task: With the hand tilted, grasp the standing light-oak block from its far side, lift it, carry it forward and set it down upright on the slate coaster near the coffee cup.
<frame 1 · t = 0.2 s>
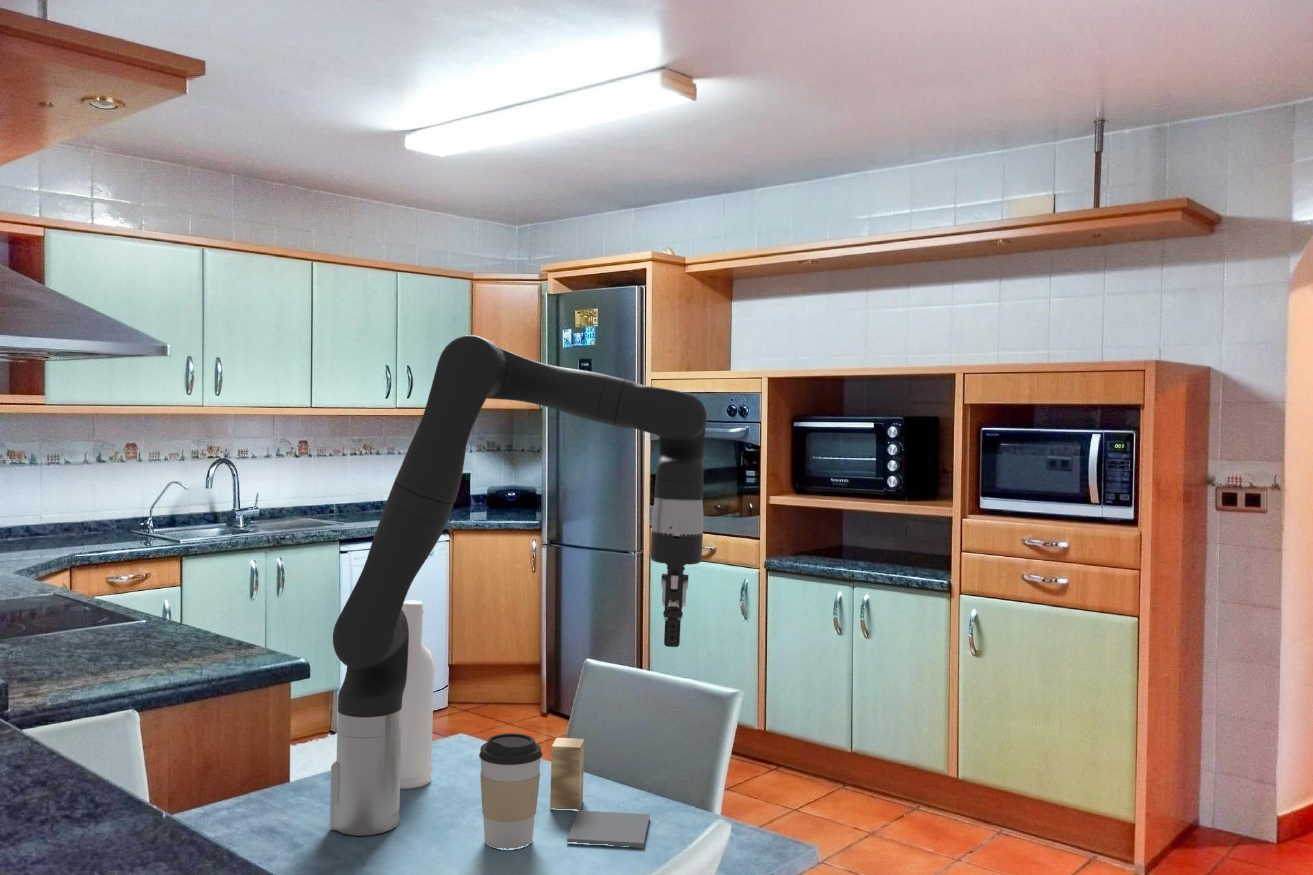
hand: (672, 640, 149), 29 cm above the table, tool pointing down, fingers open, 8 cm apart
slate coaster: (609, 831, 151), on the table
coffee cup: (508, 842, 147), on the table
oak block: (566, 805, 161), on the table
bottle: (407, 782, 170), on the table
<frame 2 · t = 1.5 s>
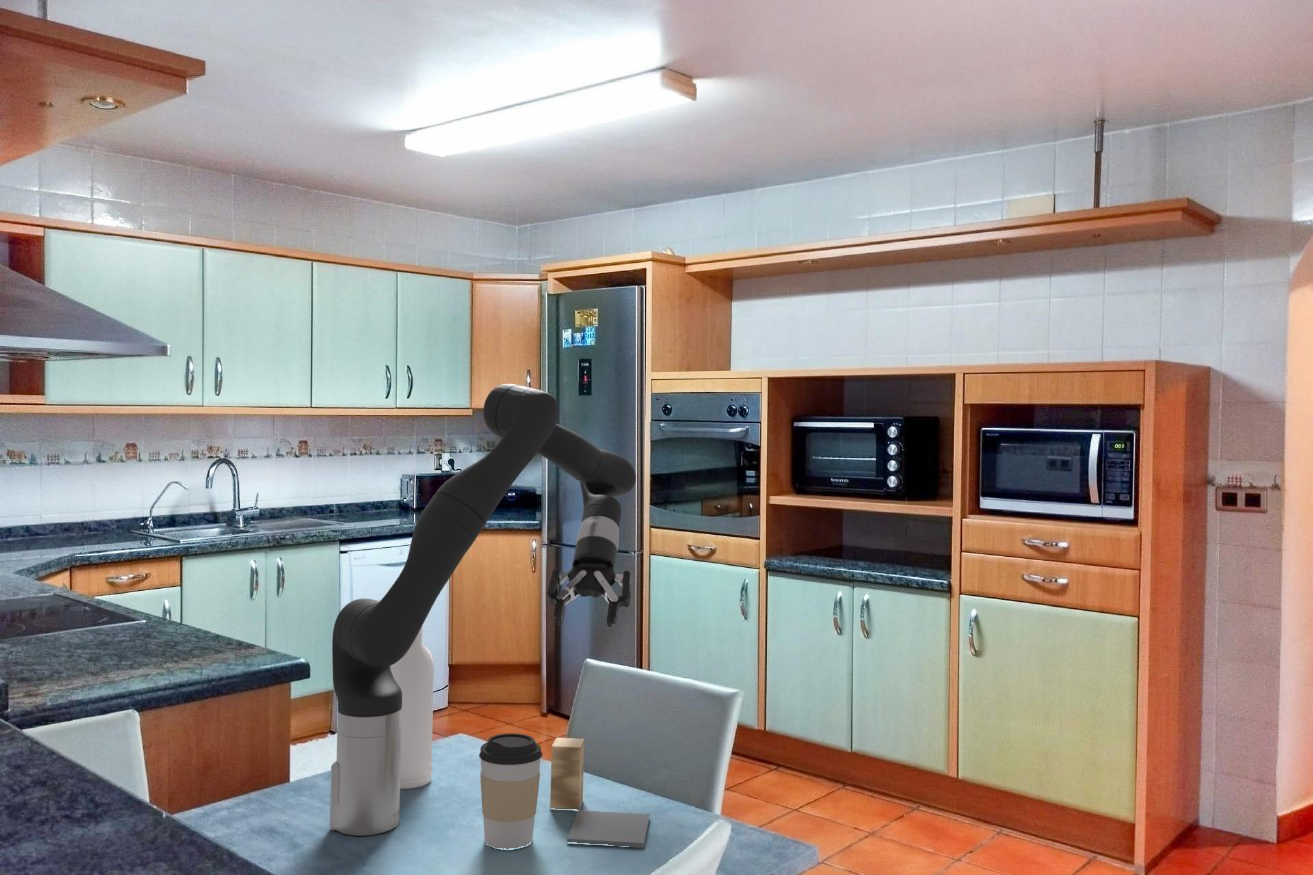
hand: (584, 623, 172), 27 cm above the table, tool tilted 45°, fingers open, 8 cm apart
nothing on the table moved.
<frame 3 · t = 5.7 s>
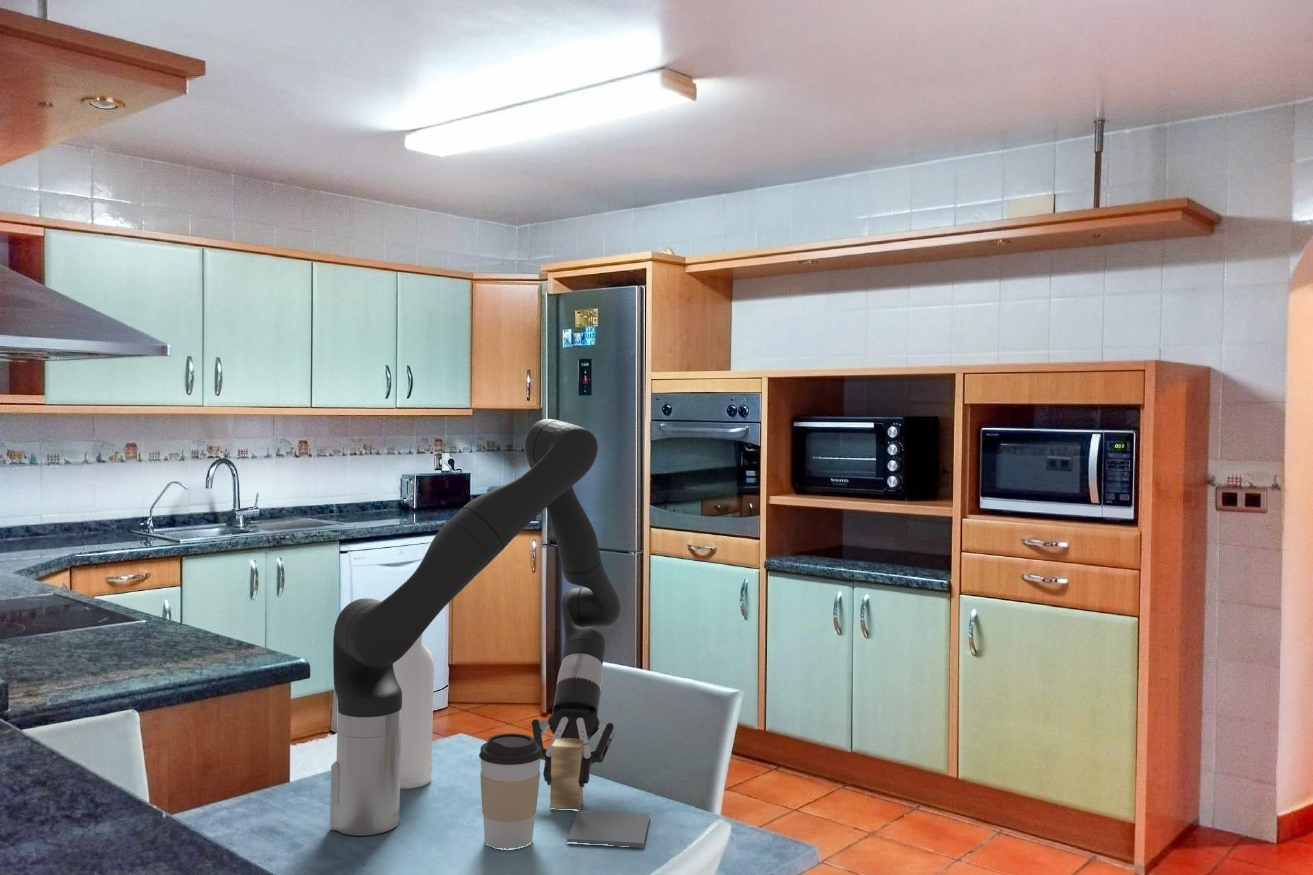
hand: (565, 783, 159), 4 cm above the table, tool tilted 45°, fingers closed on oak block, 4 cm apart
oak block: (566, 805, 161), on the table, touching gripper
everything else where it was.
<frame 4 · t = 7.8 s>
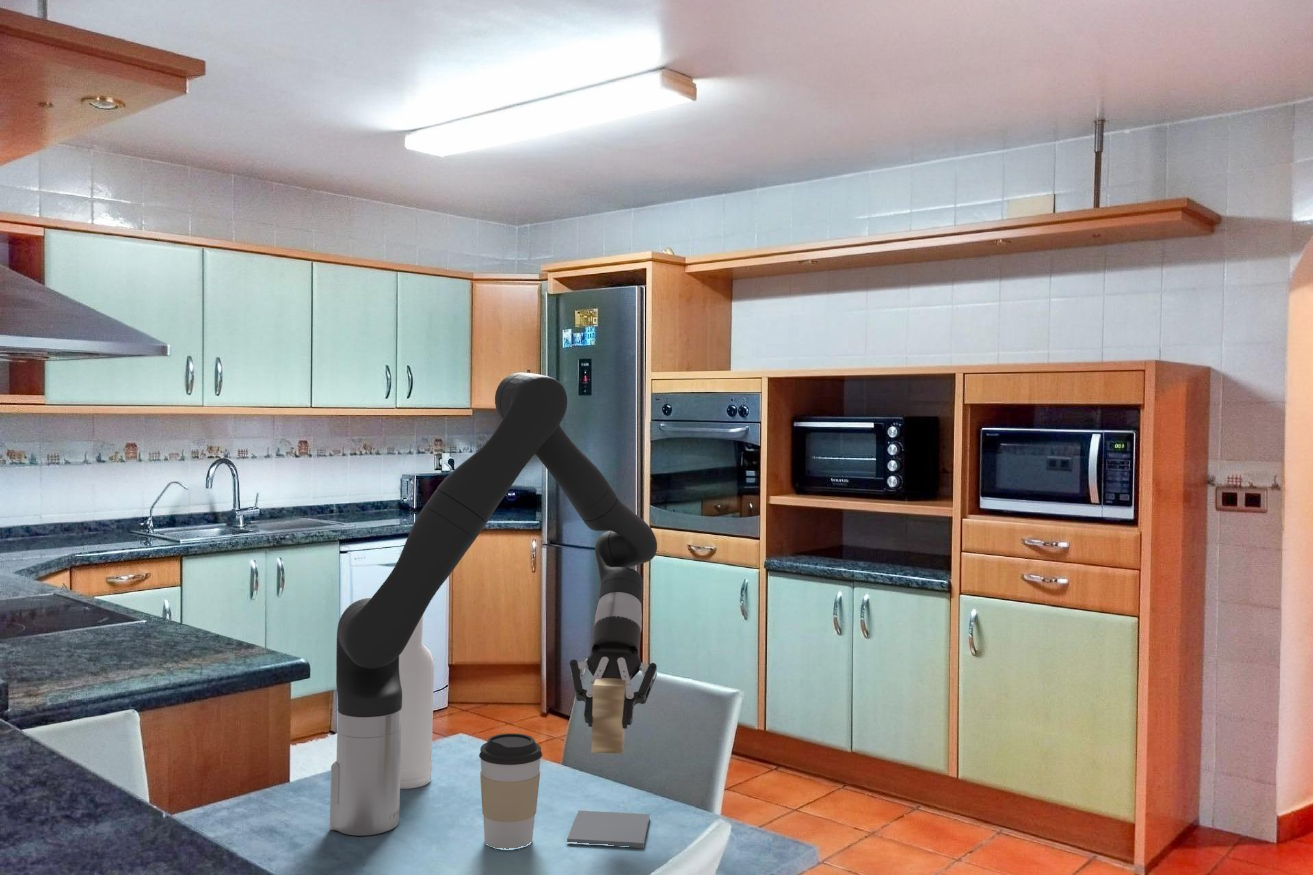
hand: (607, 724, 151), 16 cm above the table, tool tilted 45°, fingers closed on oak block, 4 cm apart
oak block: (608, 748, 153), point 12 cm above the table, touching gripper
everything else where it was.
when the fingers open (6 cm above the table, at t = 10.2 s): oak block drops 1 cm, resting on slate coaster.
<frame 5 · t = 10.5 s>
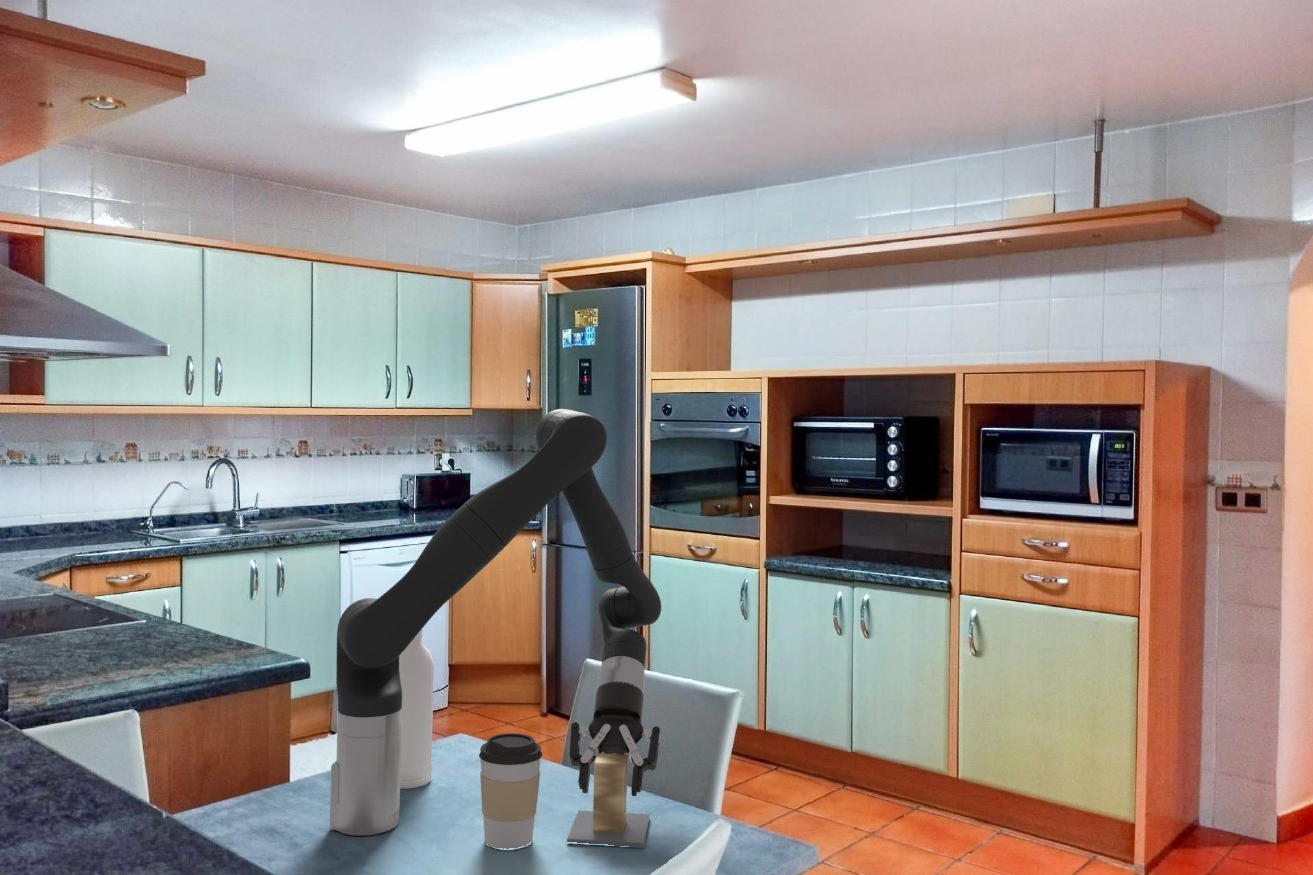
hand: (609, 792, 150), 6 cm above the table, tool tilted 45°, fingers open, 6 cm apart
oak block: (609, 825, 151), point 1 cm above the table, touching slate coaster
everything else where it was.
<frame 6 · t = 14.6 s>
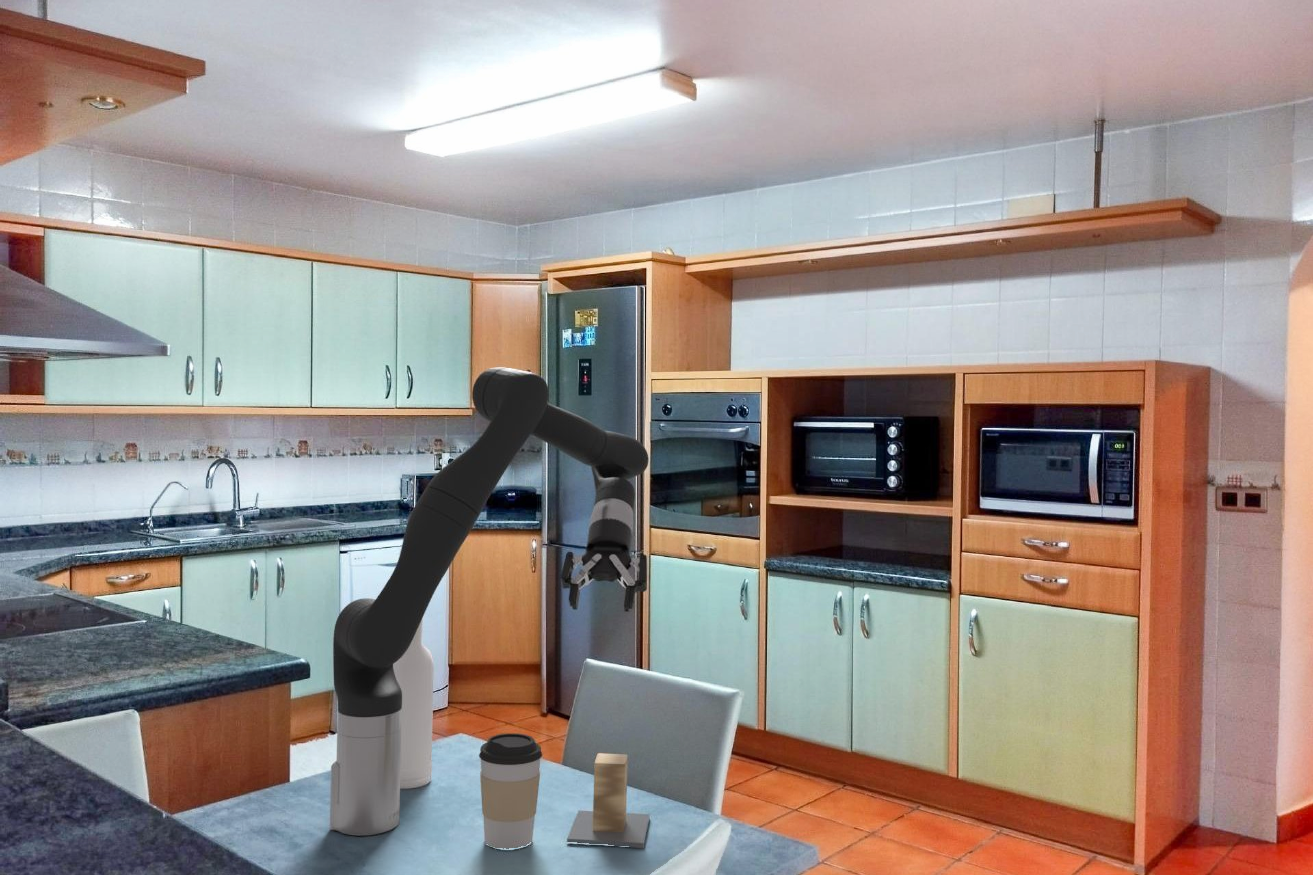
hand: (600, 608, 166), 31 cm above the table, tool tilted 45°, fingers open, 8 cm apart
nothing on the table moved.
at the end: oak block inside the target area on the slate coaster (0.1 cm from its centre), point 0.8 cm above the slate coaster's base; oak block tilted 0°; the gripper is holding nothing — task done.
